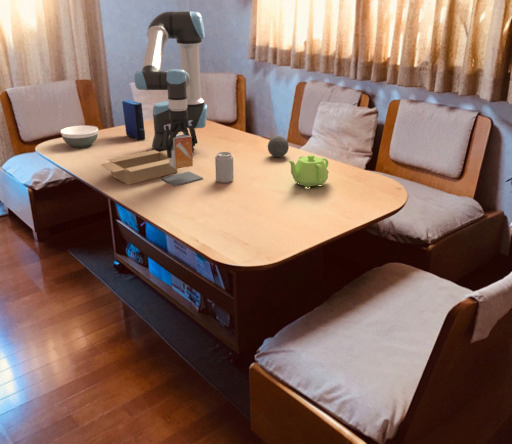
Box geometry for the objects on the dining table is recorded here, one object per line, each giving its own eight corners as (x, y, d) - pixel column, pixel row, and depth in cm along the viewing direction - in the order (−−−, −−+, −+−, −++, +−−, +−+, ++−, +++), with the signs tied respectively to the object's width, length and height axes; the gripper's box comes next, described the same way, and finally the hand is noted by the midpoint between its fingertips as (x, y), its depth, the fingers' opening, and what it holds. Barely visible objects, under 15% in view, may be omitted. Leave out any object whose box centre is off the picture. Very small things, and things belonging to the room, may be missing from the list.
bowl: (107, 144, 277) (106, 128, 274) (79, 152, 263) (77, 136, 260) (83, 138, 287) (81, 123, 283) (54, 146, 272) (52, 131, 269)
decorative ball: (277, 161, 251) (278, 140, 247) (263, 156, 258) (263, 136, 253) (292, 157, 257) (293, 136, 253) (278, 152, 264) (278, 132, 259)
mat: (189, 172, 236) (188, 171, 235) (203, 179, 228) (203, 177, 228) (161, 179, 228) (161, 178, 227) (174, 186, 220) (174, 185, 220)
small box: (176, 169, 221) (174, 138, 215) (169, 165, 226) (167, 135, 220) (193, 166, 225) (192, 136, 220) (186, 162, 230) (185, 132, 224)
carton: (166, 160, 252) (165, 147, 249) (190, 171, 237) (189, 158, 234) (97, 175, 232) (95, 162, 229) (119, 189, 217) (118, 174, 214)
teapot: (319, 194, 212) (321, 164, 207) (286, 189, 217) (287, 159, 212) (331, 181, 226) (333, 152, 221) (299, 176, 231) (300, 148, 226)
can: (236, 178, 228) (235, 151, 223) (229, 184, 222) (229, 157, 217) (220, 177, 231) (219, 150, 226) (213, 182, 224) (212, 155, 219)
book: (147, 139, 285) (143, 102, 276) (138, 141, 281) (134, 103, 273) (133, 134, 294) (129, 98, 286) (124, 136, 291) (120, 99, 283)
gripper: (194, 104, 224) (197, 156, 233) (150, 111, 212) (154, 165, 221) (205, 107, 219) (207, 160, 228) (159, 114, 207) (163, 170, 216)
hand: (181, 162), depth 225 cm, fingers closed on small box, 8 cm apart
